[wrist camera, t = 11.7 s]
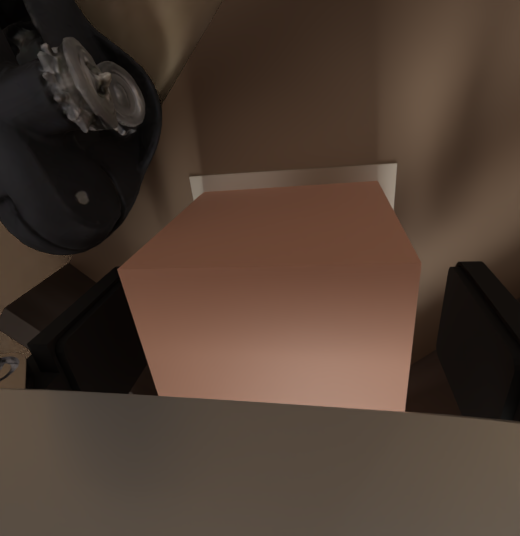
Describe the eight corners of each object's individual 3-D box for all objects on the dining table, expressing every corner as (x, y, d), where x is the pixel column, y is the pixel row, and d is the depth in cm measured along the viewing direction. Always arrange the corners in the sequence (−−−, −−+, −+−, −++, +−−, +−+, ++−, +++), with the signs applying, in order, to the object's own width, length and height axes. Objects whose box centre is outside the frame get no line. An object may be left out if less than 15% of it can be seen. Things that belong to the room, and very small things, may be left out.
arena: (707, 208, 11) (883, 267, 7) (305, 446, 19) (301, 526, 15) (358, -219, 8) (383, -445, 5) (64, 275, 16) (-6, 327, 13)
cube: (371, 329, 14) (397, 473, 9) (228, 327, 15) (177, 453, 10) (377, 180, 11) (421, 262, 6) (203, 191, 13) (117, 269, 7)
